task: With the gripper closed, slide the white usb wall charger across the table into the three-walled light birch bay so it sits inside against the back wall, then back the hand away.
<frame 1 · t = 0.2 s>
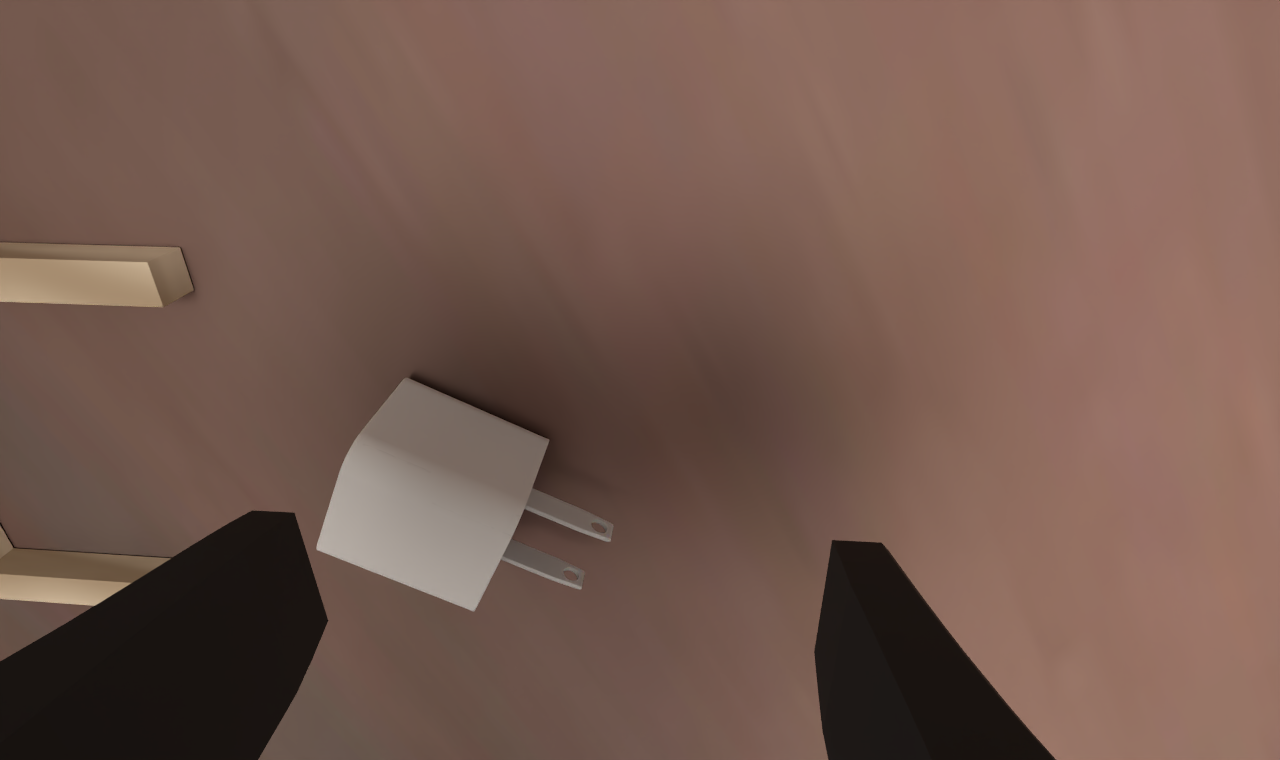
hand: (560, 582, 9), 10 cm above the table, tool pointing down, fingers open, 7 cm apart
usb wall charger: (504, 463, 21), on the table
charger bay: (92, 435, 21), on the table
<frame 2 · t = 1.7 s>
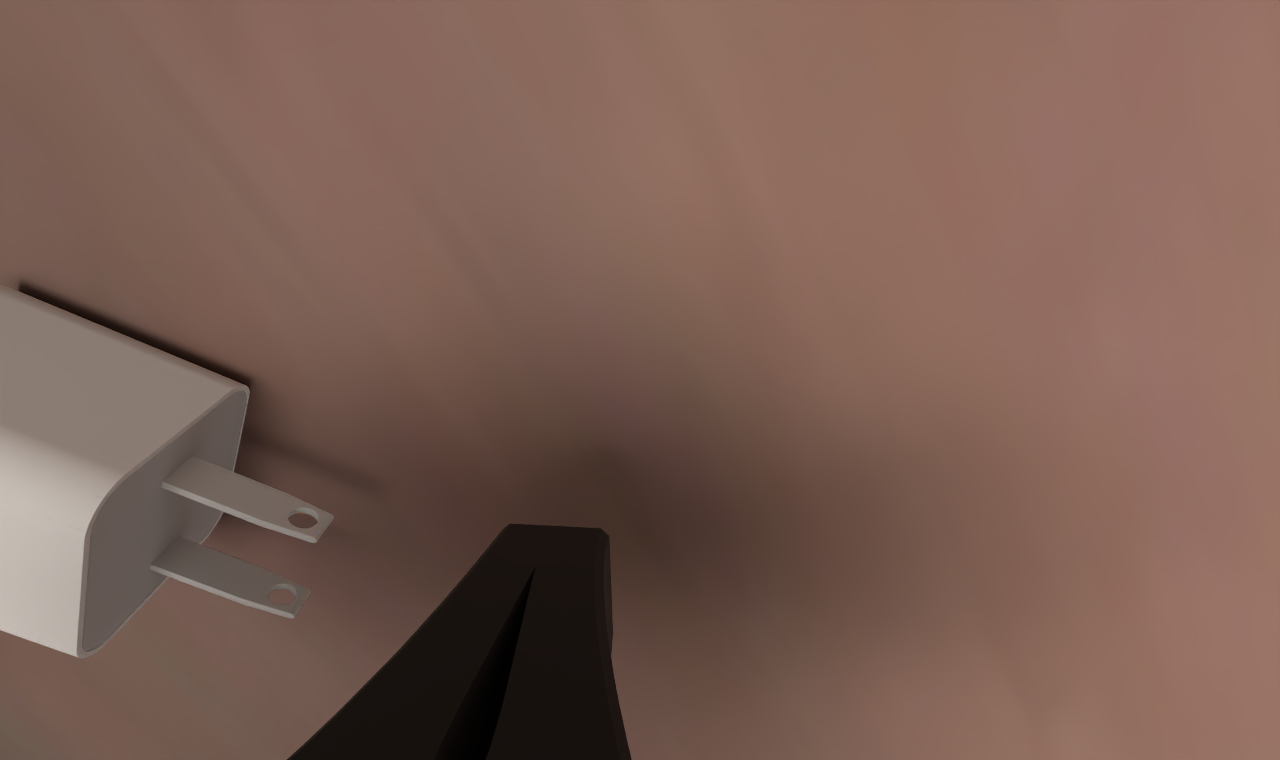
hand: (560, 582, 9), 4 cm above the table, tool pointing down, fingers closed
usb wall charger: (203, 427, 14), on the table
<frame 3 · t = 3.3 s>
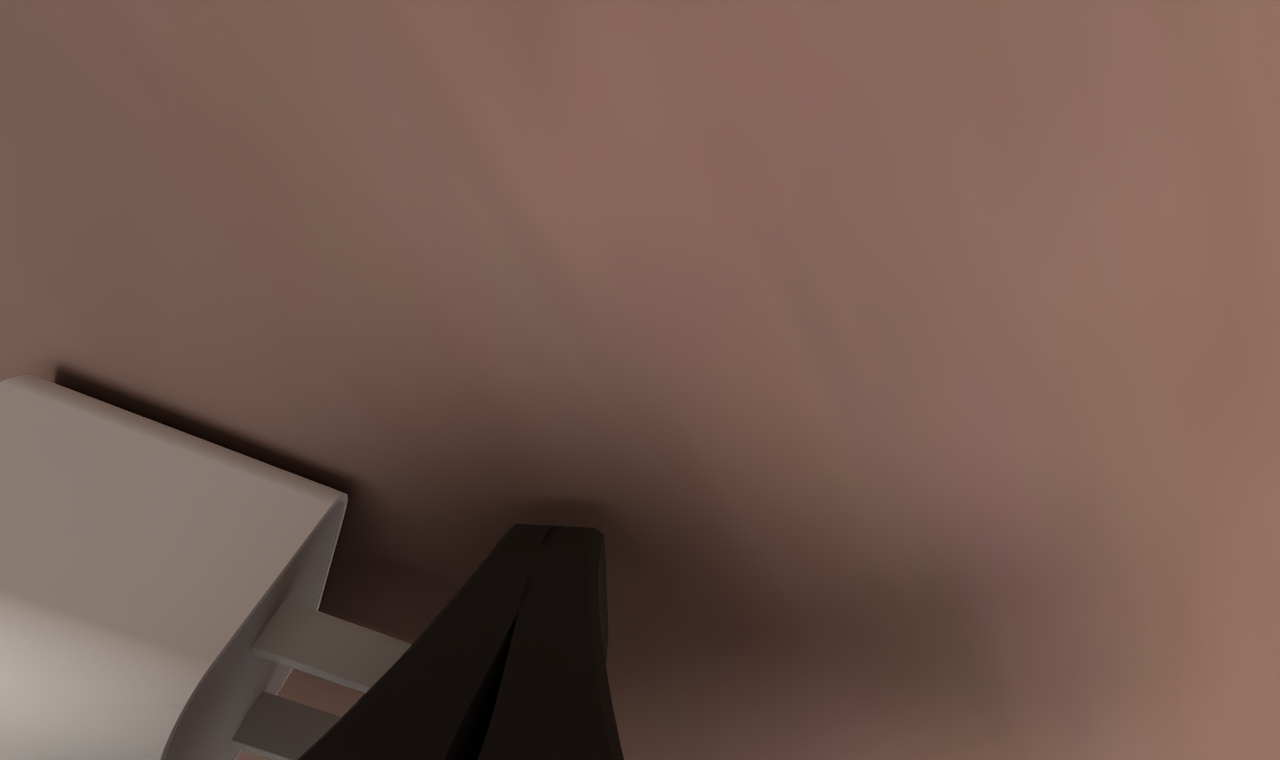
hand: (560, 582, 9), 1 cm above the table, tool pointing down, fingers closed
usb wall charger: (283, 537, 11), on the table, touching gripper
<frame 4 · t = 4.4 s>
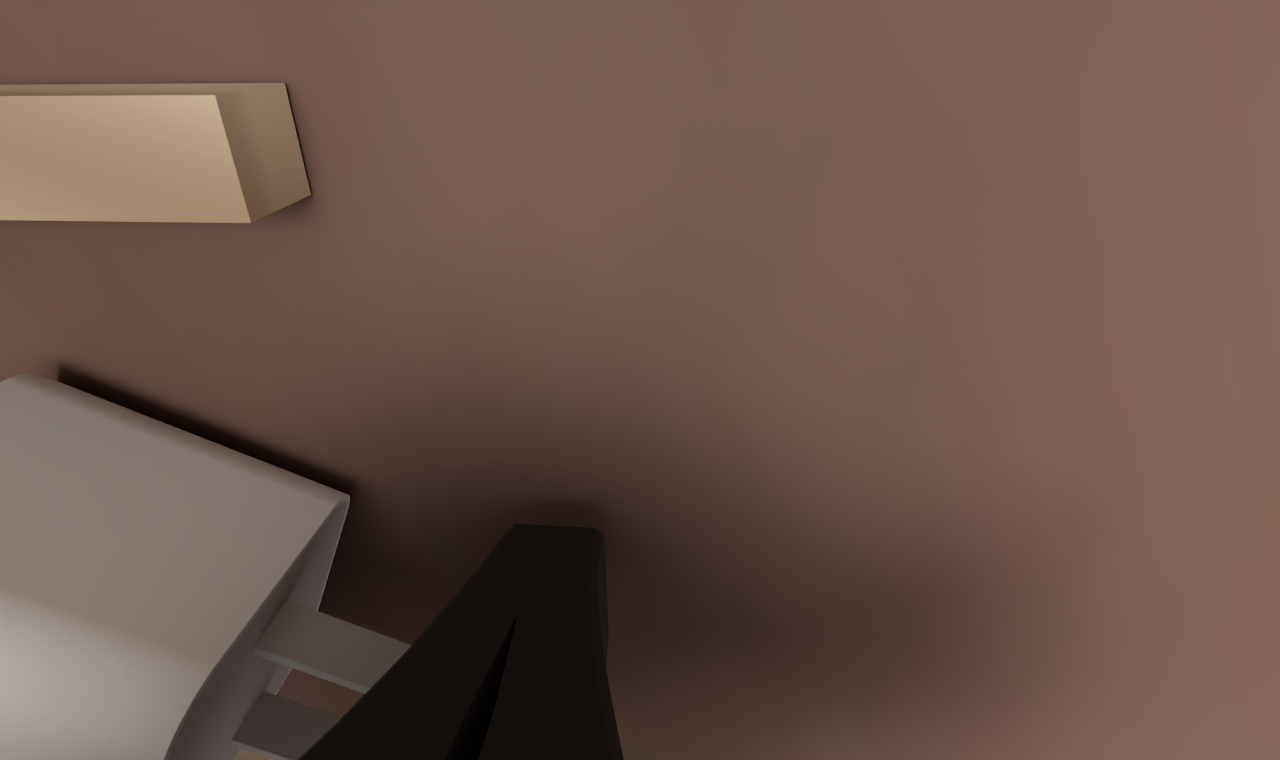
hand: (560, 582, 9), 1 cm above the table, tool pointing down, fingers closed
usb wall charger: (284, 537, 11), on the table, touching gripper
charger bay: (81, 514, 11), on the table
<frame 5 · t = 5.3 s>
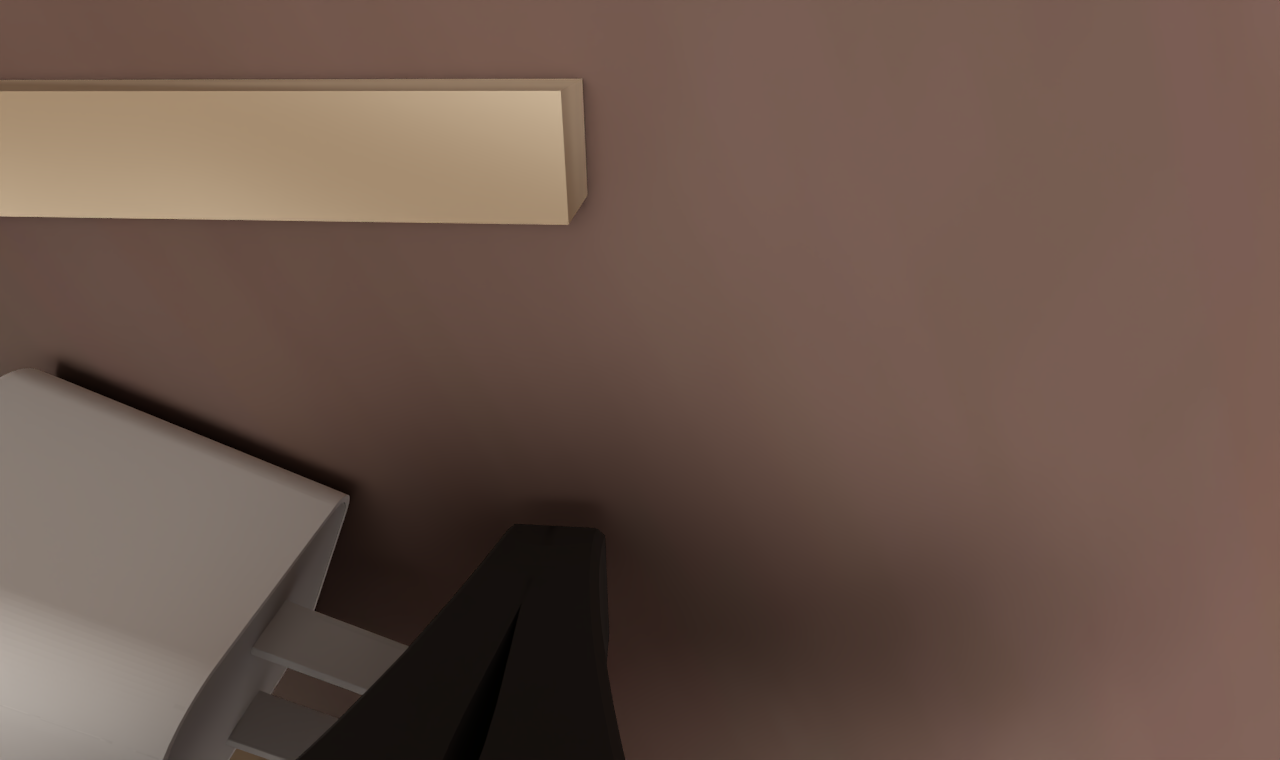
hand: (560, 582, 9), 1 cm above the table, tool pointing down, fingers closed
usb wall charger: (282, 536, 11), on the table, touching gripper
charger bay: (277, 522, 10), on the table
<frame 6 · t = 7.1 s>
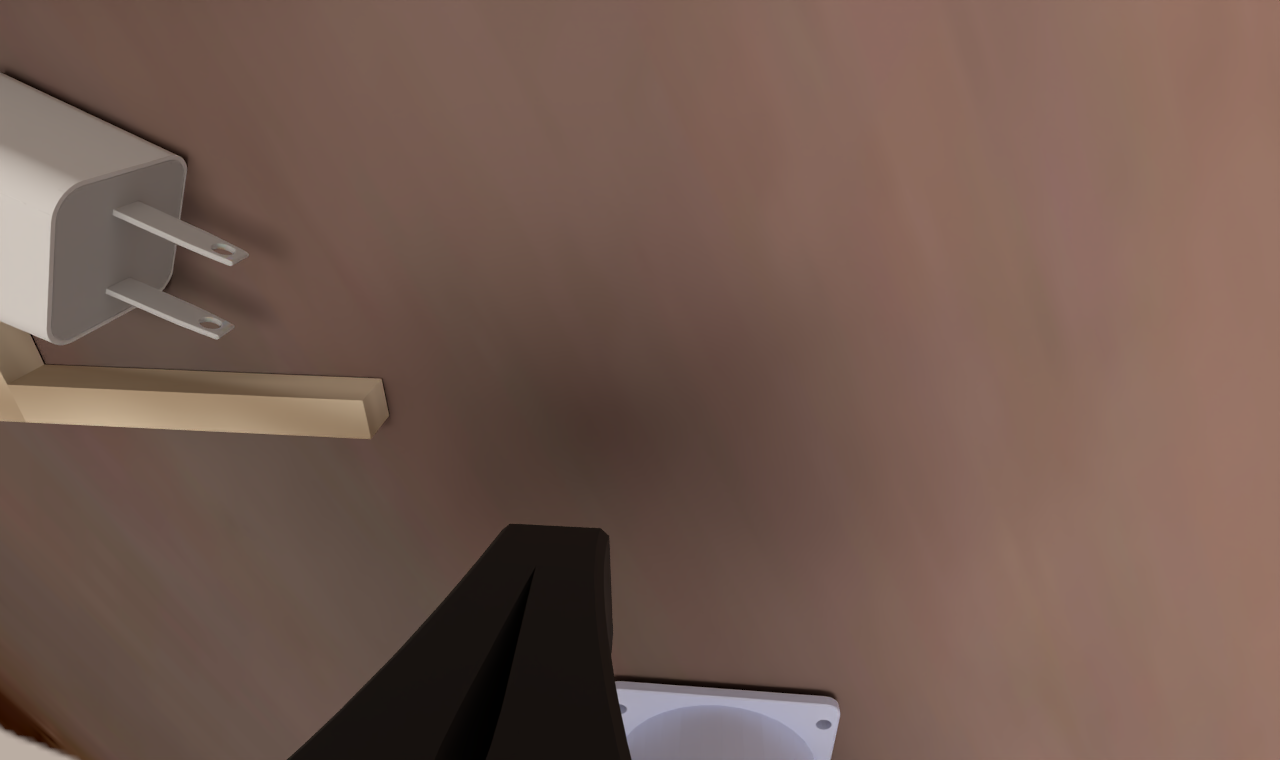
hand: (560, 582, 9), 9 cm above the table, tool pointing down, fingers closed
usb wall charger: (152, 205, 17), on the table
charger bay: (148, 192, 17), on the table
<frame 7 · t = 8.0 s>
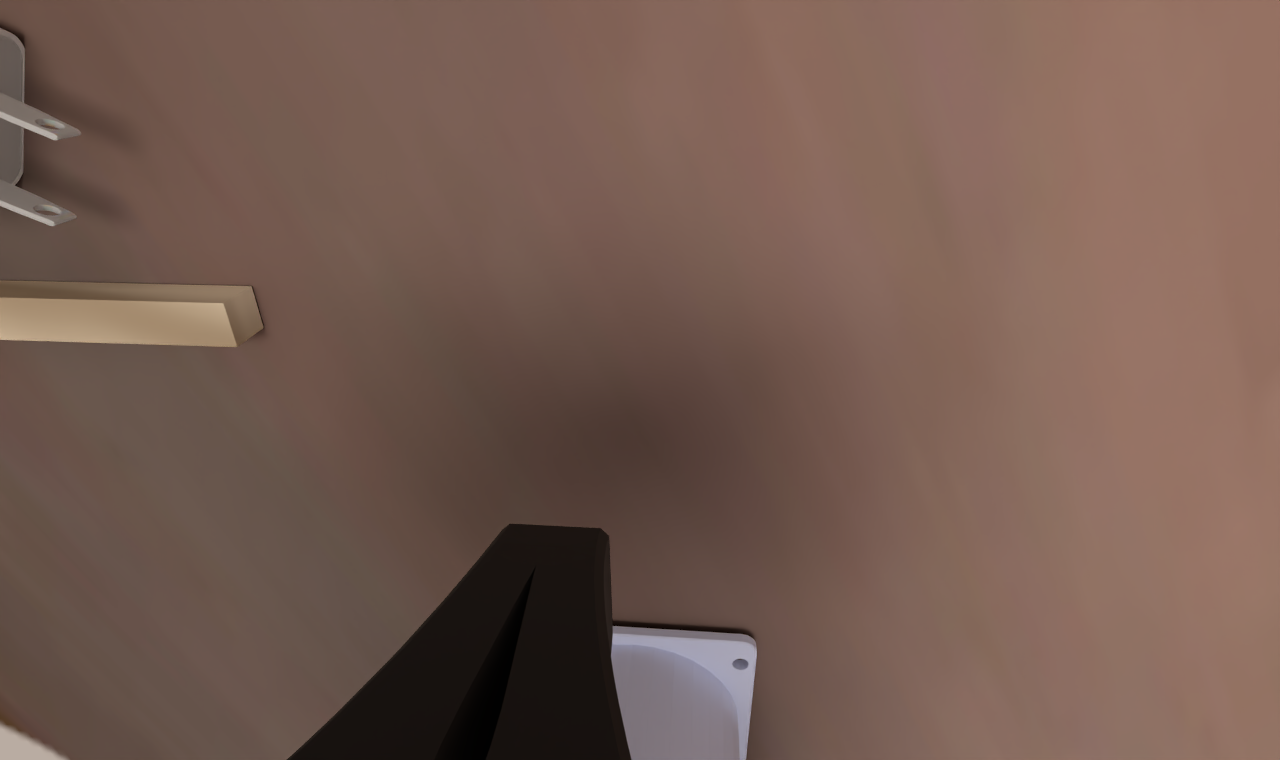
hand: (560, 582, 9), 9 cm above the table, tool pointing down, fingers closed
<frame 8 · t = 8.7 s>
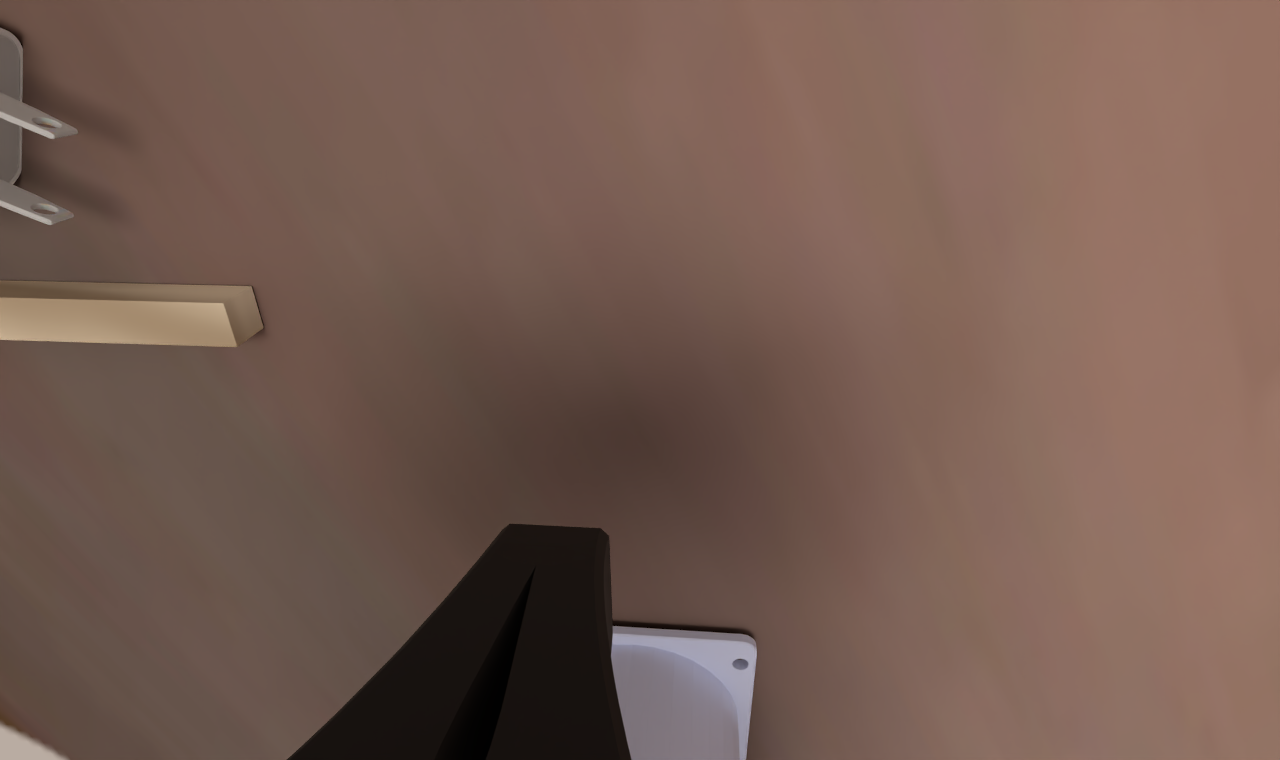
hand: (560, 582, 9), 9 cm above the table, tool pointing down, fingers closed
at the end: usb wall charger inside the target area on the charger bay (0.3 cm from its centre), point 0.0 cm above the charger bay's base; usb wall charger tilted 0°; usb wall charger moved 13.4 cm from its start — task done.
